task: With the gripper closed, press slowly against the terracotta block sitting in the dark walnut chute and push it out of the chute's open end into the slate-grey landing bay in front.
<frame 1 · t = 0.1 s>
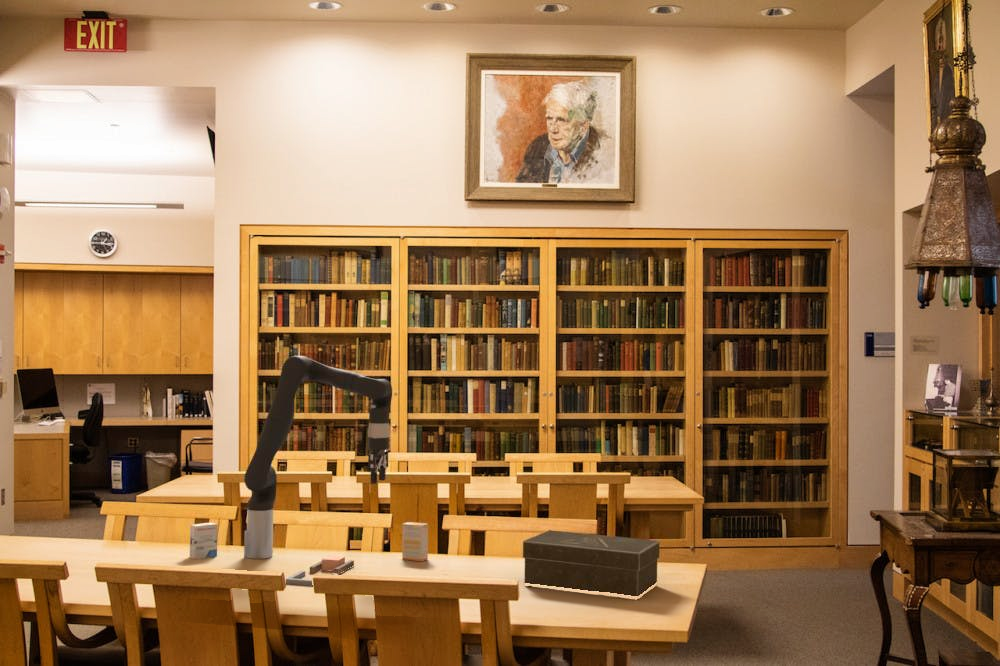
hand: (378, 481, 358), 29 cm above the table, fingers open, 8 cm apart
ink box: (203, 557, 366), on the table
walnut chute: (332, 569, 348), on the table
box: (590, 587, 330), on the table
terracotta block: (333, 569, 349), on the table
landing bay: (312, 580, 332), on the table
supplement box: (414, 560, 367), on the table
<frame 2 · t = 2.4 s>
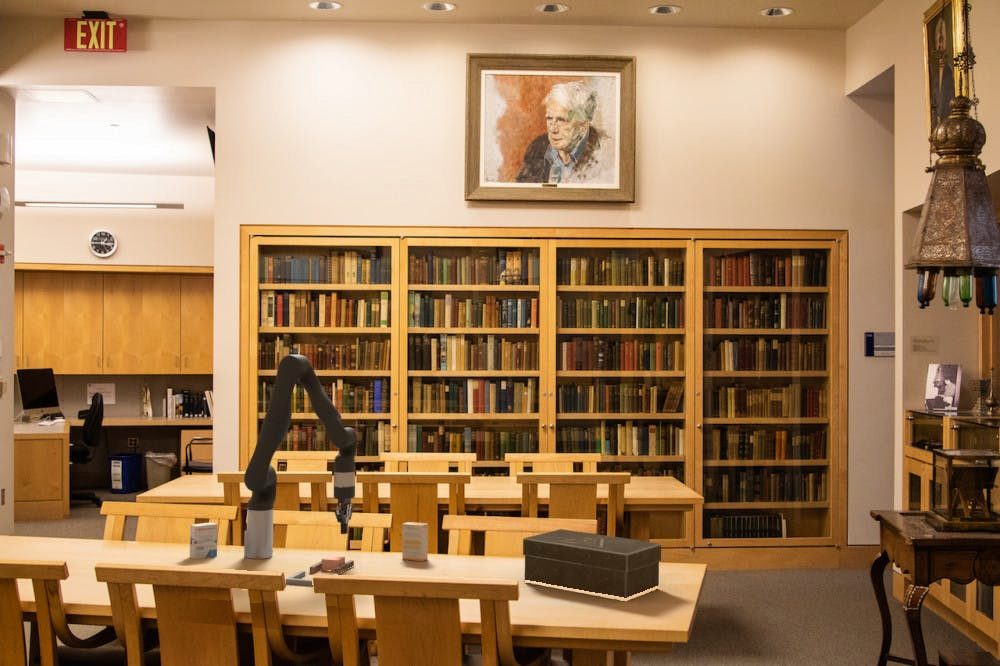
hand: (344, 533, 358), 11 cm above the table, fingers closed
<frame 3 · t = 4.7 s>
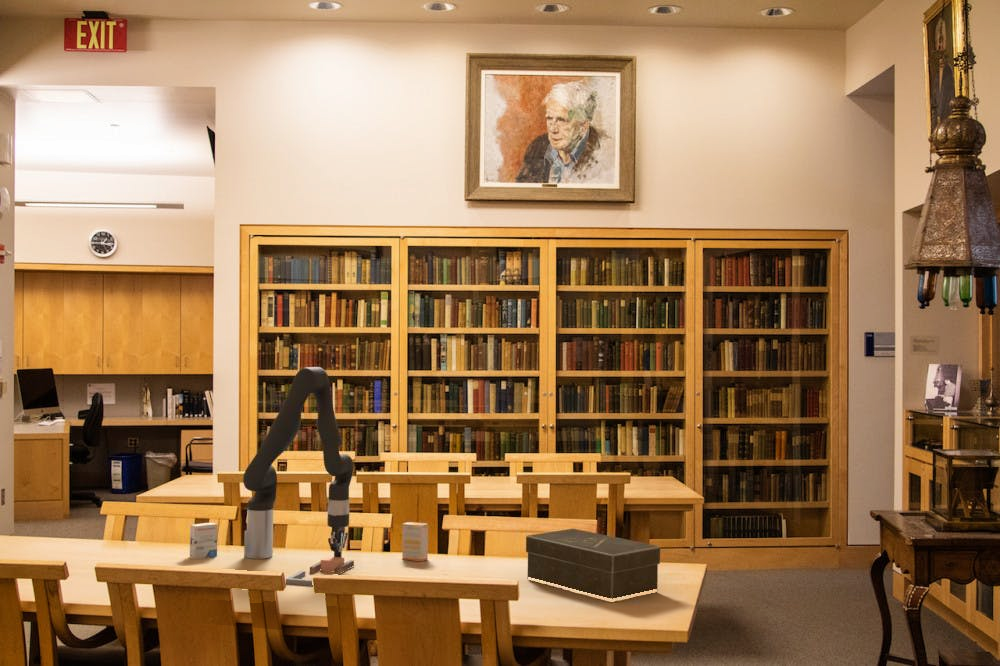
hand: (337, 562, 353), 2 cm above the table, fingers closed
terracotta block: (332, 570, 348), on the table, touching gripper
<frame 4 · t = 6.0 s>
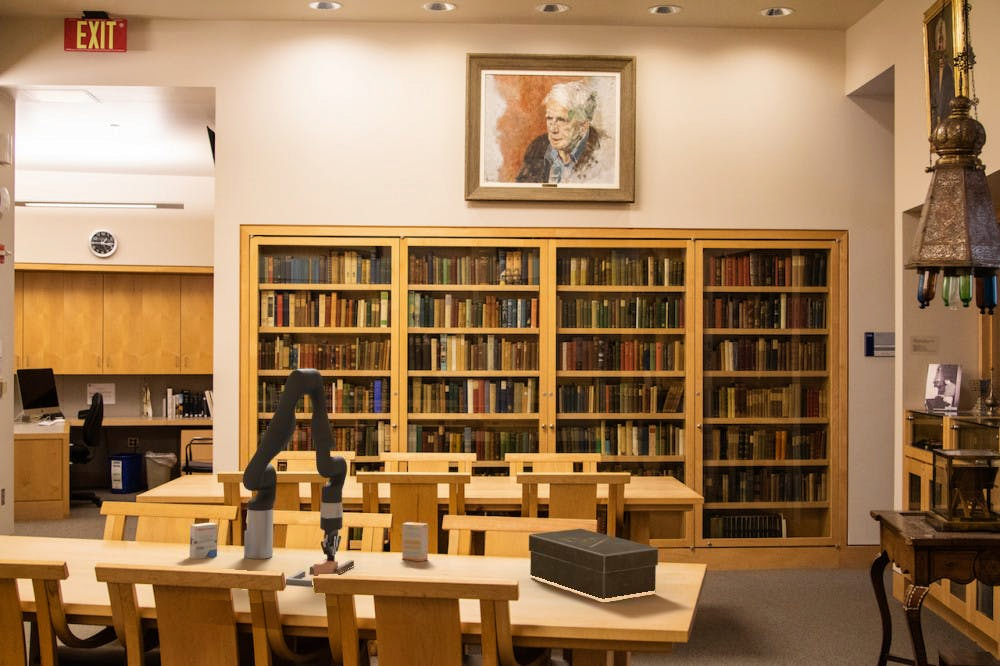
hand: (330, 566, 347), 2 cm above the table, fingers closed
terracotta block: (325, 574, 342), on the table, touching gripper
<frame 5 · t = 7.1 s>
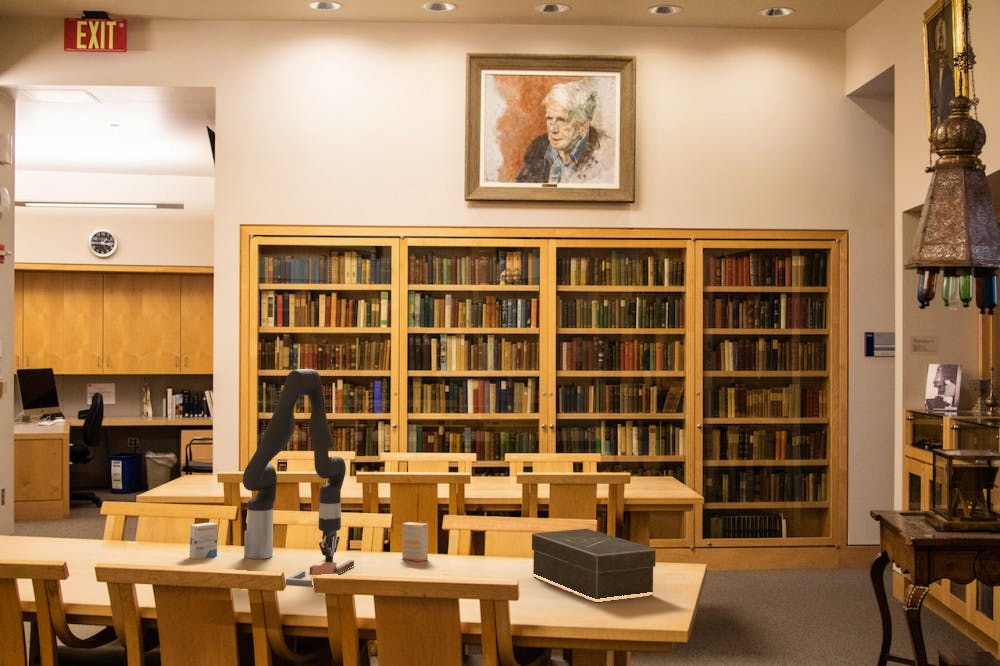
hand: (329, 566, 346), 2 cm above the table, fingers closed
terracotta block: (324, 575, 341), on the table, touching gripper
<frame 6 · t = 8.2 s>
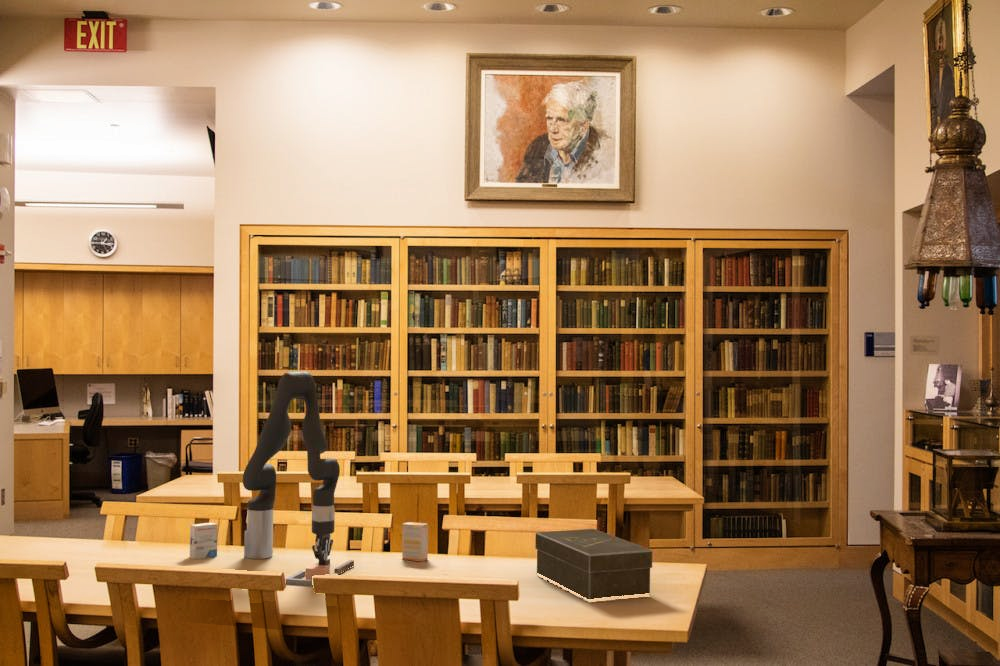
hand: (322, 570, 340), 2 cm above the table, fingers closed
terracotta block: (317, 579, 335), on the table
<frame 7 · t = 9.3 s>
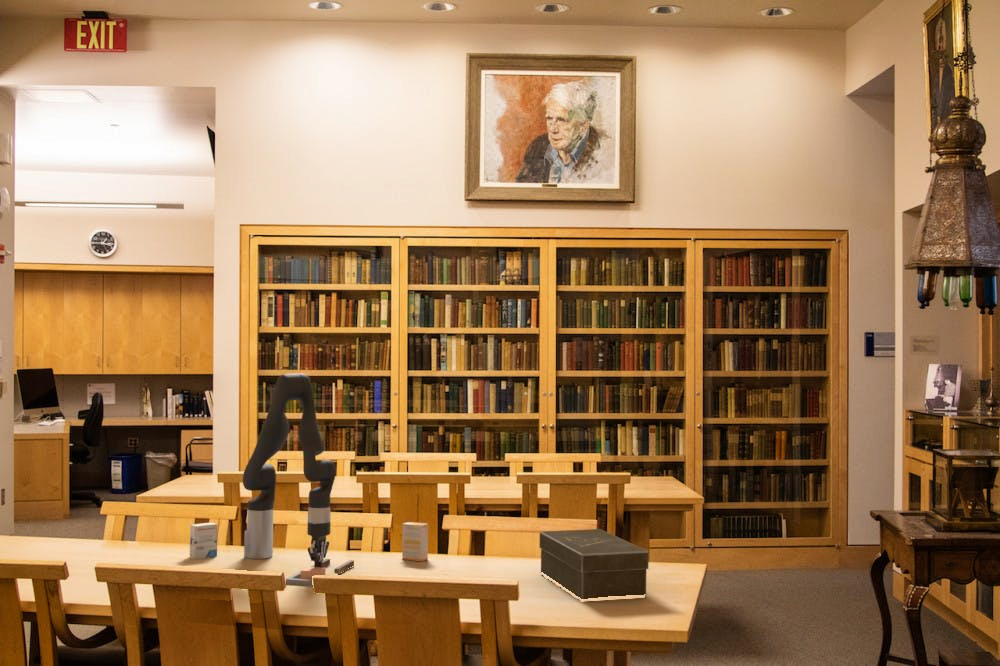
hand: (318, 572, 337), 2 cm above the table, fingers closed
terracotta block: (312, 581, 332), on the table
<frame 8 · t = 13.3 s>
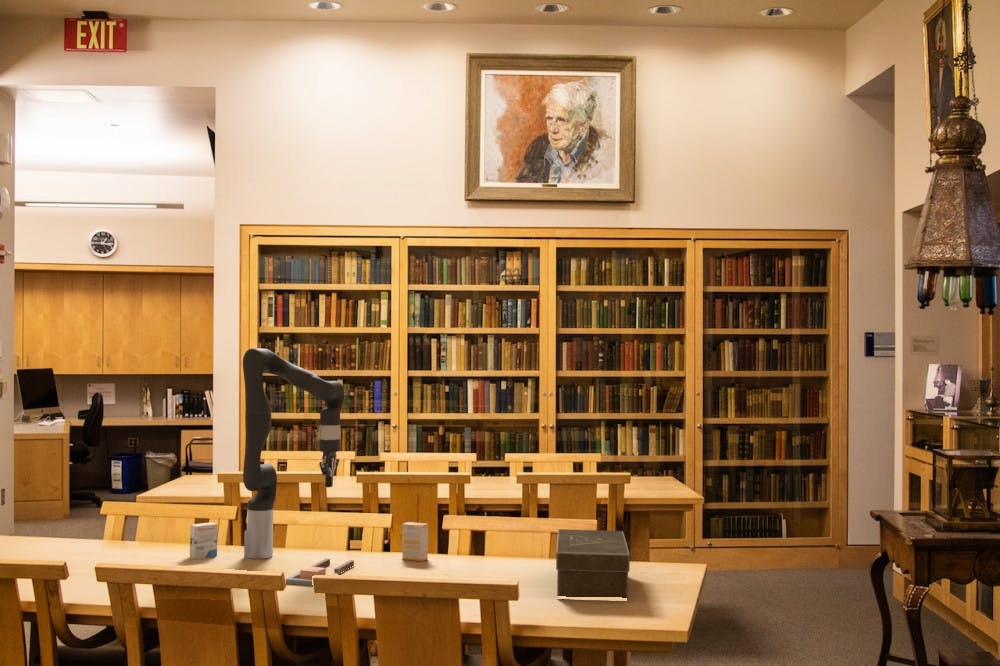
hand: (328, 486, 358), 27 cm above the table, fingers closed
at the end: terracotta block inside the target area (0.6 cm from its centre), on the table; terracotta block tilted 0° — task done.
